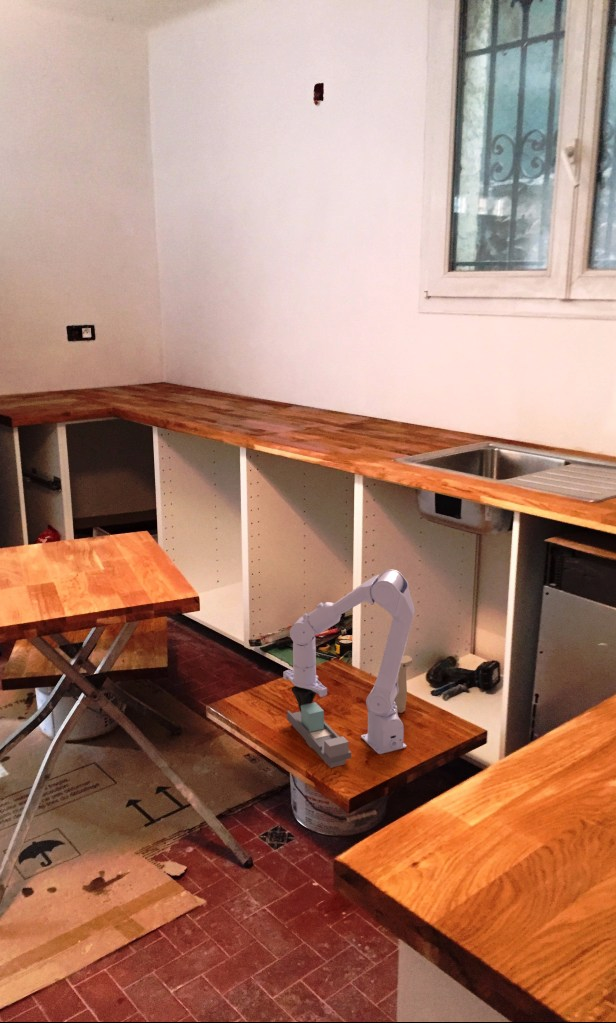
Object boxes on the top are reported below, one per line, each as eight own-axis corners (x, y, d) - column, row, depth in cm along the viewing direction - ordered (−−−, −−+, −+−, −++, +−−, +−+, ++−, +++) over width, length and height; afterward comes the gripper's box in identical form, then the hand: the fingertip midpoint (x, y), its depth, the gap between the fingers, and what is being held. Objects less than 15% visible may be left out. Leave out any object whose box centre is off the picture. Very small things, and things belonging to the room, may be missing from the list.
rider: (323, 728, 214) (323, 710, 212) (309, 732, 212) (309, 713, 211) (315, 719, 218) (315, 702, 217) (301, 723, 216) (301, 705, 215)
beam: (351, 763, 204) (351, 741, 202) (327, 769, 201) (327, 747, 200) (309, 719, 225) (309, 698, 224) (287, 724, 222) (286, 703, 221)
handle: (384, 709, 230) (385, 657, 227) (405, 704, 233) (406, 653, 229) (392, 717, 226) (393, 664, 222) (413, 712, 228) (415, 660, 224)
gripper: (335, 667, 213) (336, 717, 216) (297, 650, 223) (298, 697, 226) (315, 676, 208) (315, 726, 211) (276, 658, 218) (277, 706, 222)
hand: (305, 712), depth 219 cm, fingers closed
